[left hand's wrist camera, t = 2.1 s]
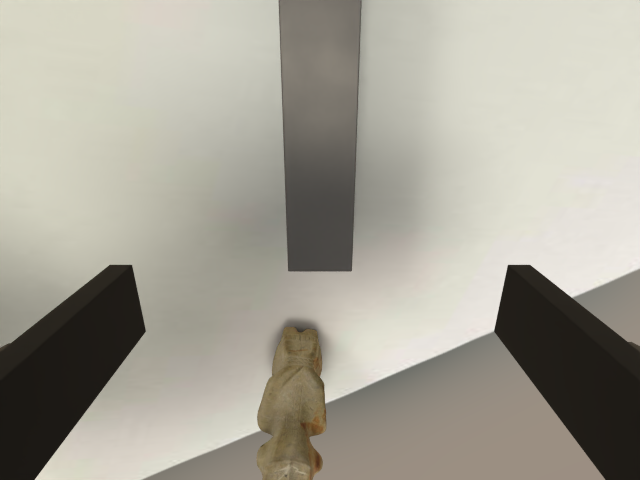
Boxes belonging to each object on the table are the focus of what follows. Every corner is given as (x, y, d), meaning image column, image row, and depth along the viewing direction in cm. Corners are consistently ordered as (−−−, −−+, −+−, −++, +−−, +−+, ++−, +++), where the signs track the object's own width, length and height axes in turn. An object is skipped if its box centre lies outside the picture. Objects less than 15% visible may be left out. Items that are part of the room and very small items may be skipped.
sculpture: (267, 370, 40) (238, 517, 26) (276, 314, 37) (249, 445, 23) (319, 377, 40) (319, 527, 26) (331, 323, 37) (338, 457, 23)
